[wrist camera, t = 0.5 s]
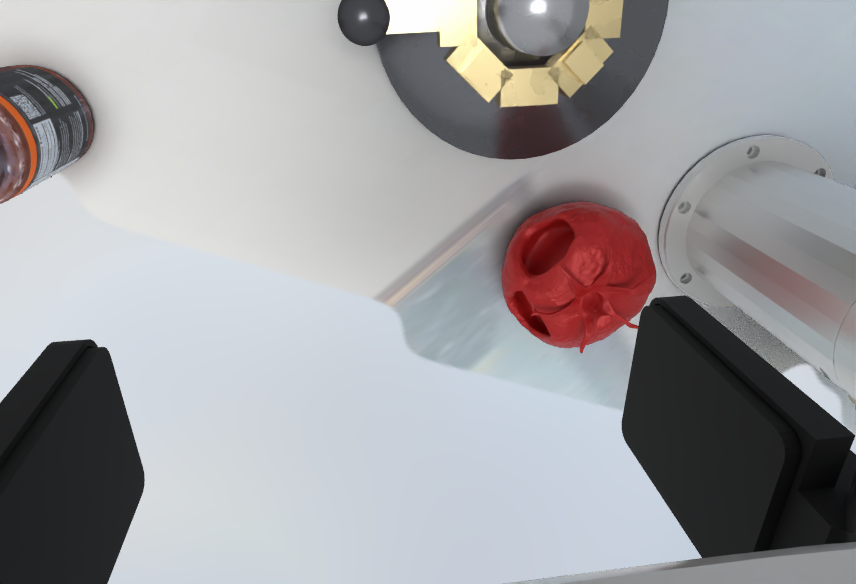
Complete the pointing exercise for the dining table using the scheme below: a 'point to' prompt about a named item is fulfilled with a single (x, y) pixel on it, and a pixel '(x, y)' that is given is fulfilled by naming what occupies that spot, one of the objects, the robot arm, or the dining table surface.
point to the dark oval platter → (522, 46)
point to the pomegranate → (577, 273)
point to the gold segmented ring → (457, 26)
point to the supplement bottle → (39, 127)
